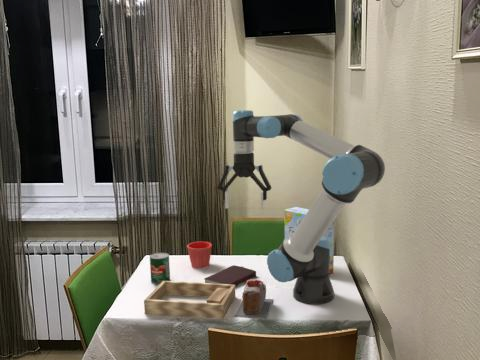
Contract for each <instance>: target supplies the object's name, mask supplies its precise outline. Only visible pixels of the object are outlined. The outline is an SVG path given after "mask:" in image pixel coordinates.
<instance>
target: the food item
mask: <svg viewBox="0 0 480 360" xmlns="http://www.w3.org/2000/svg"><path fill="white" fill-rule="evenodd" d="M241 297H242V298H241V299H242V300H241V302H242V306H243V312H244V314H256V315H258V314H260V313H261V309H262V308H263V304H264V300H265V299H267V298H266V297H267V285H266V284H264V281H262V280H260V279H256V278H251V279H249V280H247V281H245V285H244V288H243V292H242V296H241Z"/></svg>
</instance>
